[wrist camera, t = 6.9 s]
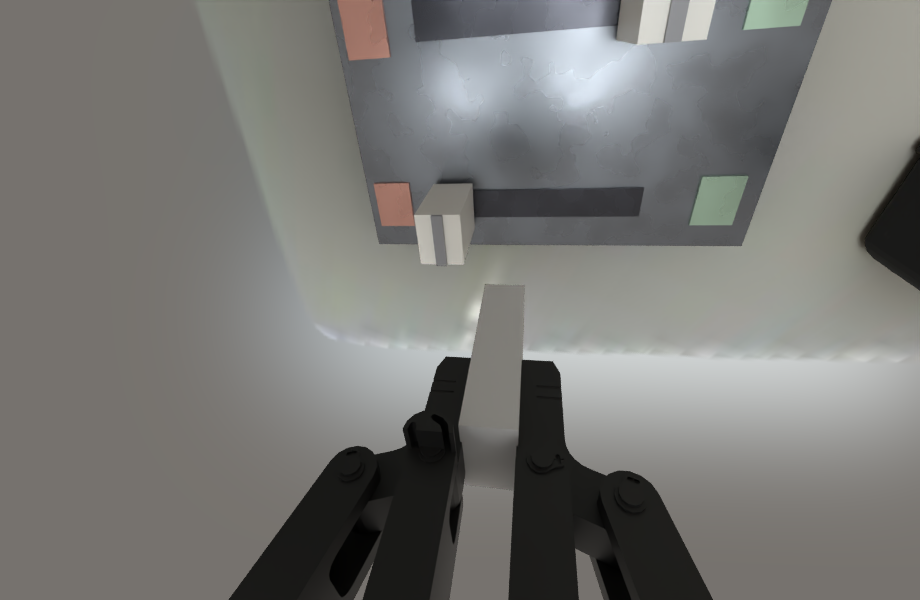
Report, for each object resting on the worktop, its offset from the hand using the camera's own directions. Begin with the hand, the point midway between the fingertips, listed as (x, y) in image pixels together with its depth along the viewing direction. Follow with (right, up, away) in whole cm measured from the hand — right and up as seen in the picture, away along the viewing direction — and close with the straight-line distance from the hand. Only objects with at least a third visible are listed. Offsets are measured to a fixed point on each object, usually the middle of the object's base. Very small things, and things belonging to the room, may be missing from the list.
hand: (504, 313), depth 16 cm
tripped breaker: (-2, +7, +10) cm, 12 cm away
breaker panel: (+4, +12, +8) cm, 15 cm away
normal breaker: (+7, +15, +3) cm, 16 cm away
